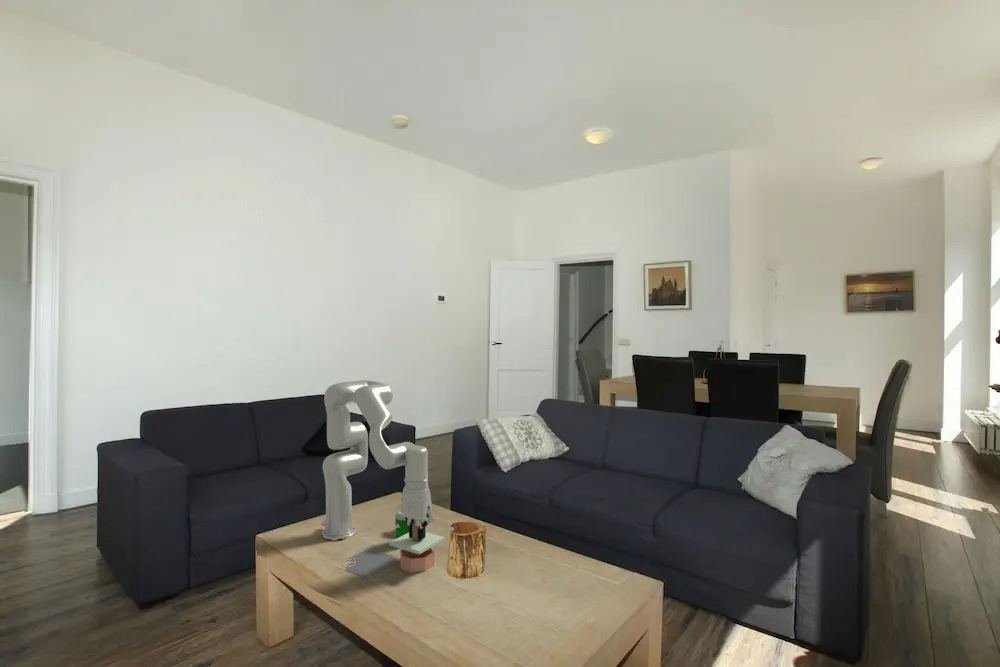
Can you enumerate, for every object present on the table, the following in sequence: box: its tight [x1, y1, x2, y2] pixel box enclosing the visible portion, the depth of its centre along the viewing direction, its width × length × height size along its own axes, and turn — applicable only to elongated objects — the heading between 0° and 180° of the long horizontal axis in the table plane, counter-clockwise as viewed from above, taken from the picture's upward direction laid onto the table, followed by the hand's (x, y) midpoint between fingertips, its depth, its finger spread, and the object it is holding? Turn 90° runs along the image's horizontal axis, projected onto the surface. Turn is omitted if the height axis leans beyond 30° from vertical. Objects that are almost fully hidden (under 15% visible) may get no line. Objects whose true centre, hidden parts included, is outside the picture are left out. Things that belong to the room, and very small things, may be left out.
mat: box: [342, 548, 400, 580], centre depth 178 cm, size 16×16×1 cm
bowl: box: [399, 546, 435, 573], centre depth 177 cm, size 11×11×5 cm
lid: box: [388, 523, 445, 554], centre depth 176 cm, size 13×13×6 cm
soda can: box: [394, 509, 416, 539], centre depth 194 cm, size 8×8×12 cm
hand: (417, 537), depth 177 cm, fingers closed on lid, 3 cm apart
